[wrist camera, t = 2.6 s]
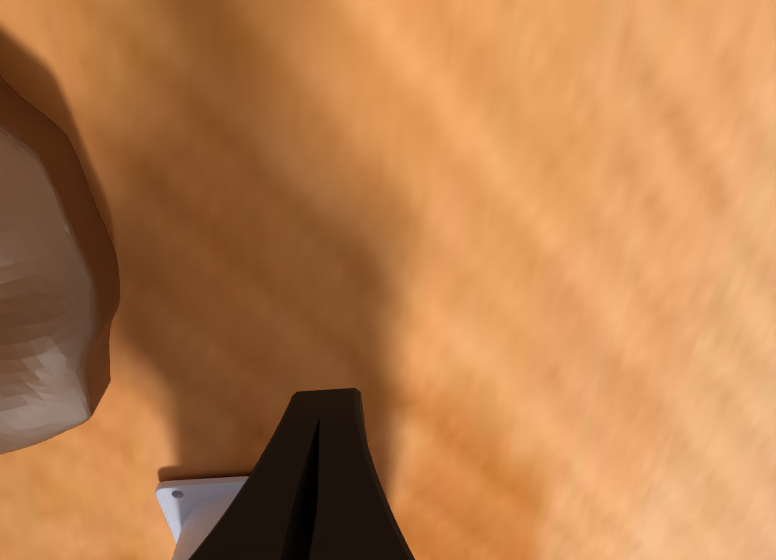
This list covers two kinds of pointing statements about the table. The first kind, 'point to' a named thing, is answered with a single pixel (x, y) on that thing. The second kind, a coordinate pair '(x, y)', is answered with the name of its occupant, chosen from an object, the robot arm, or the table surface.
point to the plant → (49, 282)
